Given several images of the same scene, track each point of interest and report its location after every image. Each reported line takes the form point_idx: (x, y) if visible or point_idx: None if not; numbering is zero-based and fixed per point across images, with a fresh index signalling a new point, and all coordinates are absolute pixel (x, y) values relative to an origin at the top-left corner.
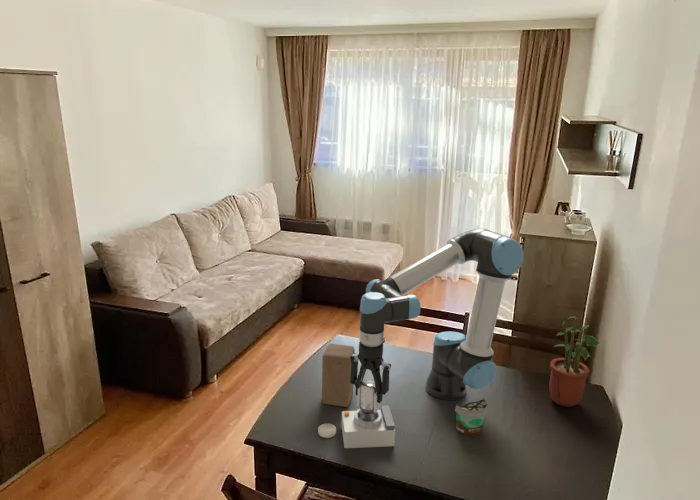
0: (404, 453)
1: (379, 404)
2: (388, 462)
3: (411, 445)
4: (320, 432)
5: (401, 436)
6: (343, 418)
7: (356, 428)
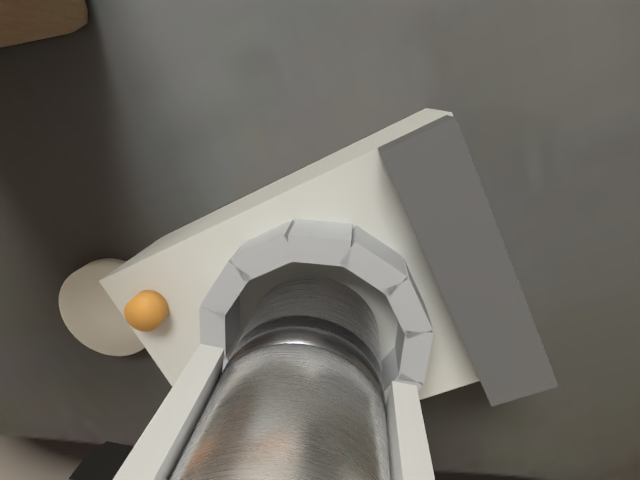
0: (566, 330)
1: (423, 427)
2: (488, 409)
3: (606, 255)
4: (94, 348)
5: (534, 195)
6: (152, 351)
7: None
